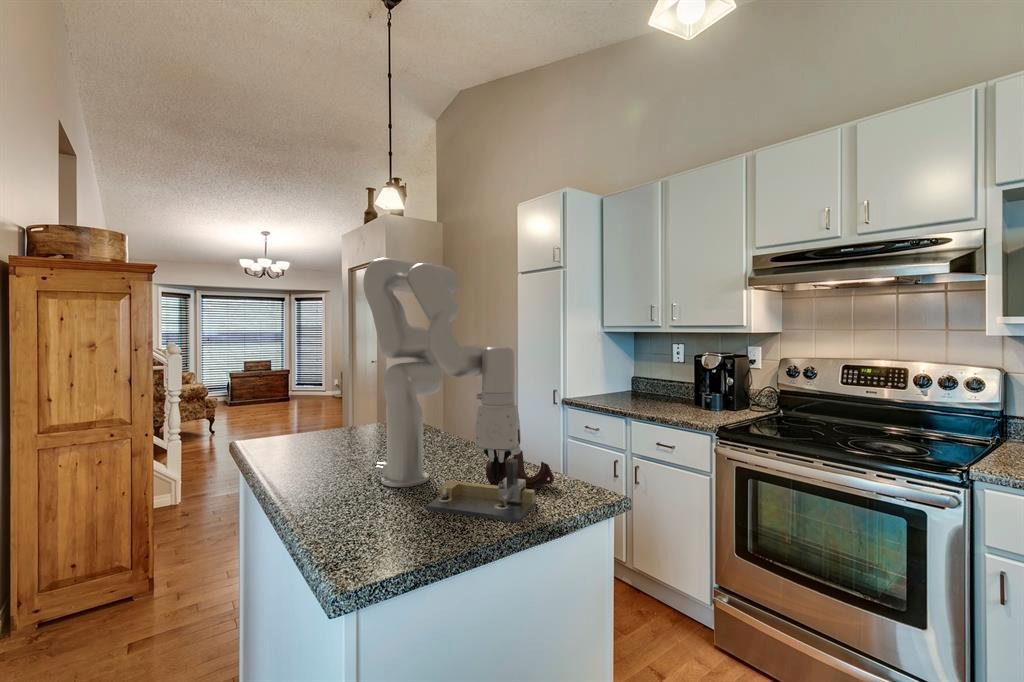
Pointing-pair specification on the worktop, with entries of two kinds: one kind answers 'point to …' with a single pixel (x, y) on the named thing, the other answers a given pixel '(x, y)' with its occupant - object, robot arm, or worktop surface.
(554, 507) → the worktop surface
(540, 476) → the bracket
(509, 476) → the slider
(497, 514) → the hole plate
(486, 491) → the beam
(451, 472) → the worktop surface
